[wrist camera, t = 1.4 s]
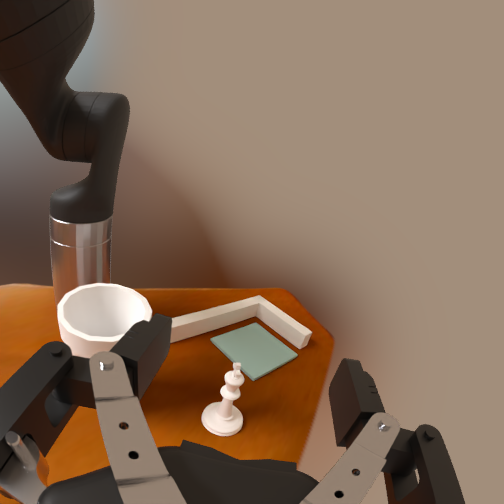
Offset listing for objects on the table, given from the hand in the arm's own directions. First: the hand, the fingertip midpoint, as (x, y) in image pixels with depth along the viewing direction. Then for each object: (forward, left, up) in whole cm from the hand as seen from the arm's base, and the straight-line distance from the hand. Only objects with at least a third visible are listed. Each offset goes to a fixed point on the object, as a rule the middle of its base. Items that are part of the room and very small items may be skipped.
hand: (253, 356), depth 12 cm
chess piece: (-7, +8, -21) cm, 23 cm away
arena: (-17, +19, -20) cm, 33 cm away
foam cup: (-16, -2, -21) cm, 26 cm away
